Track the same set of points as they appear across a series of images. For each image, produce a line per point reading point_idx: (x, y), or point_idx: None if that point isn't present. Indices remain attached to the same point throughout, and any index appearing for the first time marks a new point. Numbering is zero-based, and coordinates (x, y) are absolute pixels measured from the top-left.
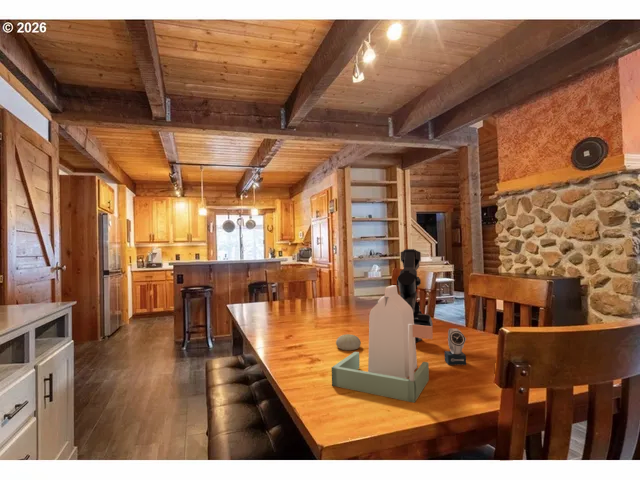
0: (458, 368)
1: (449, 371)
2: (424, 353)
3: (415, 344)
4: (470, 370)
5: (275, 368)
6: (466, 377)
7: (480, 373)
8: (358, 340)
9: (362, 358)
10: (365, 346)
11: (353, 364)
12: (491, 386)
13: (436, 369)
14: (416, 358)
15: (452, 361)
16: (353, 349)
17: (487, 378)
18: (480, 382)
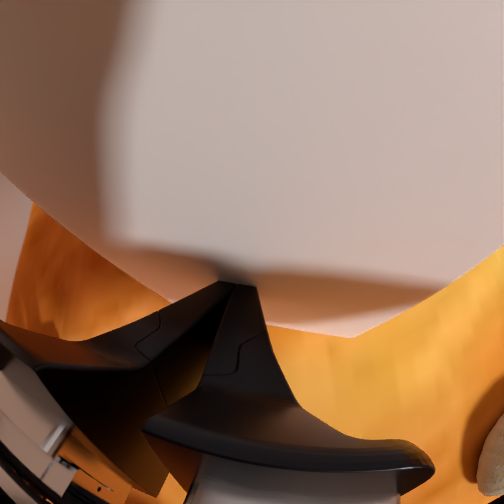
0: (49, 325)
1: (72, 287)
2: (157, 497)
3: (114, 264)
4: (30, 313)
5: None
6: (49, 249)
7: (20, 293)
8: (500, 463)
9: (449, 339)
10: (450, 500)
11: None
12: (31, 212)
13: (104, 297)
14: (155, 291)
15: None
16: (497, 422)
17: (19, 260)
18: (37, 226)
